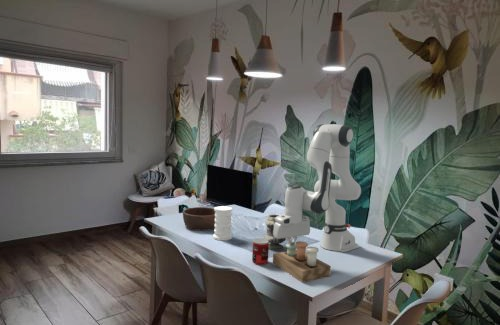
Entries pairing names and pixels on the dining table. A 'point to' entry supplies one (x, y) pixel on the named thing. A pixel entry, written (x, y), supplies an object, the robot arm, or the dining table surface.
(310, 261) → the cream plunger
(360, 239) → the dining table surface
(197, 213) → the wooden bowl
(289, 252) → the sage plunger
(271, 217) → the apothecary jar
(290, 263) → the walnut board
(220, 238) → the decorative container
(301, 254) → the peach mushroom knob
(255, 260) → the canned food
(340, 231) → the robot arm
